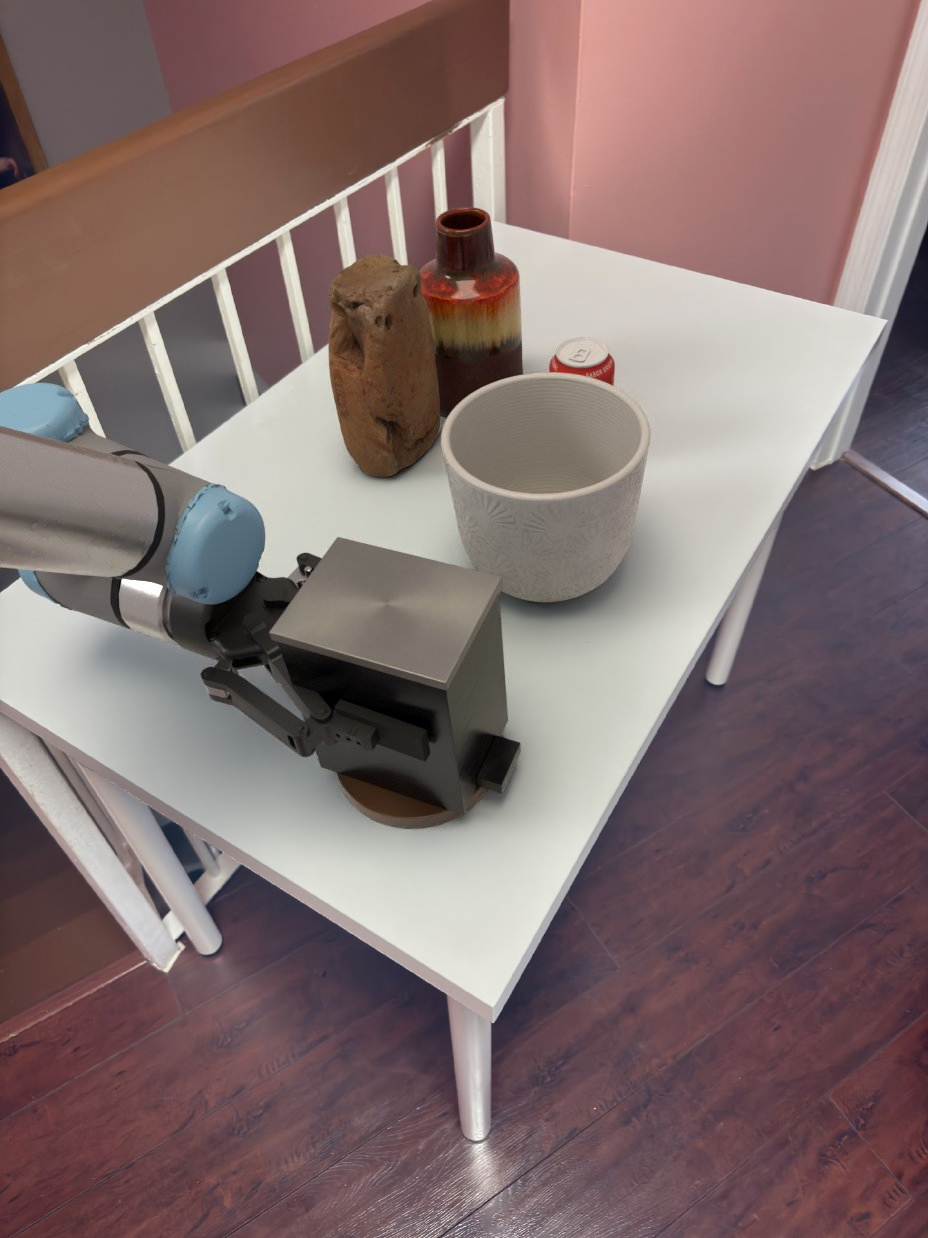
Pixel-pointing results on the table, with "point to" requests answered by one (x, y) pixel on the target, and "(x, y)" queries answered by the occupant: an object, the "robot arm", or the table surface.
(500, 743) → the bin
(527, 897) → the table surface
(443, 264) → the vase
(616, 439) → the planter
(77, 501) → the robot arm
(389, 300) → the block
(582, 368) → the beverage can
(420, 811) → the disc
